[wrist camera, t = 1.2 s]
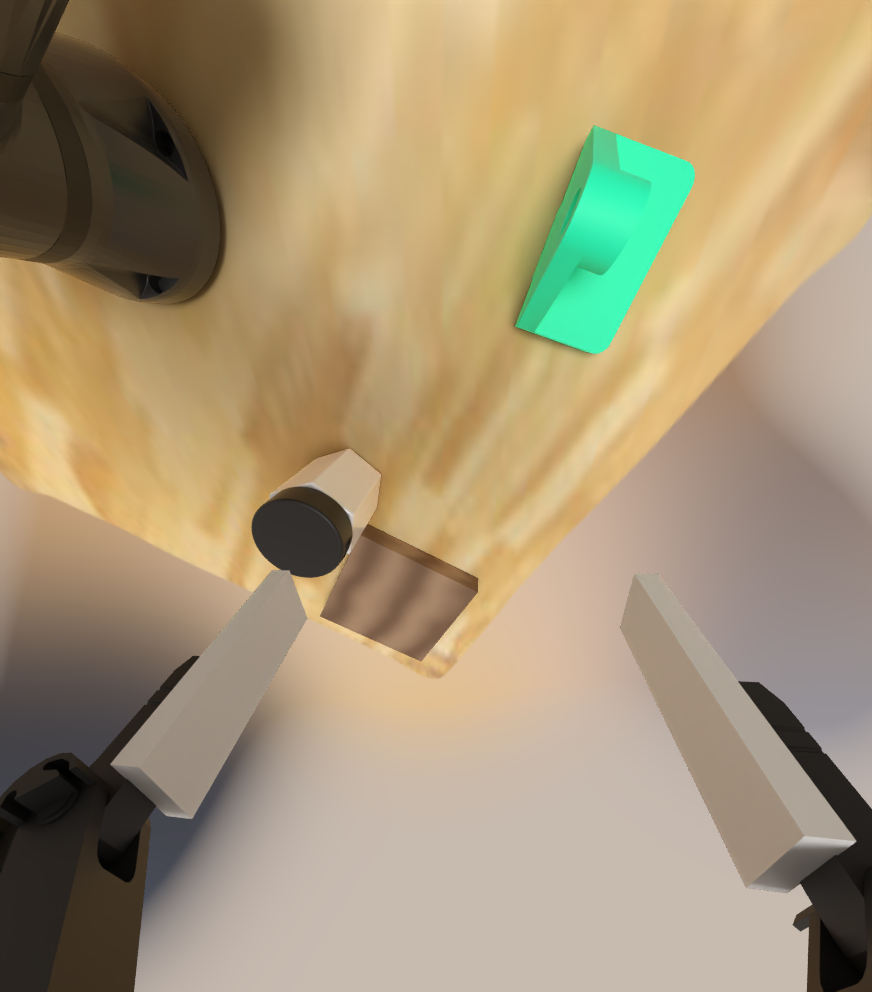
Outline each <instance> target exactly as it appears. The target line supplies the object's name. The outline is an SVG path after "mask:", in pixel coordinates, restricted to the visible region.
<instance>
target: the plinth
mask: <svg viewBox="0 0 872 992" xmlns="http://www.w3.org/2000/svg"><path fill="white" fill-rule="evenodd" d="M477 593H478V578H476V577H474V576H472V575H470V574H468V573H466V572H464V571H462V570H460V569H458V568H456V567H454V566H451V565H449V564H447V563H445V562H443V561H441V560H439V559H437V558H435V557H433V556H431V555H429V554H427V553H425V552H423V551H421V550H419V549H417V548H415V547H413V546H411V545H409V544H407V543H405V542H403V541H401V540H399V539H397V538H395V537H393V536H391V535H388V534H386V533H384V532H382V531H380V530H378V529H376V528H374V527H372V526H370V525H368V524H367V525H366V527H365V529H364V530H363V532H362V534H361V536H360V537H359V539H358V541H357V542H356V544H355V546H354V548H353V550H352V552H351V554H350V556H349V558H348V560H347V562H346V564H345V566H344V568H343V570H342V572H341V574H340V576H339V578H338V580H337V582H336V584H335V586H334V588H333V590H332V592H331V594H330V596H329V599H328V601H327V603H326V605H325V607H324V609H323V611H322V613H321V615H320V617H323V618H325V619H327V620H329V621H332V622H334V623H336V624H338V625H341V626H343V627H345V628H347V629H350V630H352V631H354V632H356V633H359V634H361V635H363V636H365V637H368V638H370V639H372V640H374V641H376V642H379V643H381V644H383V645H385V646H388V647H390V648H392V649H394V650H397V651H399V652H401V653H403V654H406V655H408V656H410V657H412V658H415V659H417V660H419V661H422V660H423V659H424V657H425V656H426V655H427V654H428V653H429V651H430V650H431V649H432V648H433V646H434V645H435V644H436V643H437V642H438V640H439V639H440V638H441V637H442V635H443V634H444V633H445V632H446V631H447V629H448V628H449V627H450V626H451V624H452V623H453V622H454V621H455V620H456V618H457V617H458V616H459V615H460V613H461V612H462V611H463V610H464V609H465V607H466V606H467V605H468V604H469V602H470V601H471V600H472V599H473V597H474V596H475V595H476V594H477Z"/></svg>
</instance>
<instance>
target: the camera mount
mask: <svg viewBox="0 0 872 992" xmlns="http://www.w3.org/2000/svg"><path fill="white" fill-rule="evenodd" d="M694 178H695V172H694V168H693V166H692V165H691V164H690V163H689V162H687V161H685V160H682V159H680V158H677V157H674V156H672V155H669V154H667V153H664V152H662V151H659V150H656V149H654V148H651V147H649V146H646V145H644V144H641V143H638V142H636V141H633V140H631V139H628V138H626V137H623V136H620V135H618V134H615V133H613V132H610V131H608V130H605V129H602V128H600V127H597V126H595V125H594V126H593V128H592V129H591V131H590V133H589V135H588V137H587V139H586V141H585V144H584V146H583V149H582V152H581V154H580V157H579V160H578V162H577V165H576V167H575V170H574V173H573V175H572V178H571V181H570V183H569V186H568V188H567V191H566V194H565V196H564V199H563V202H562V204H561V206H560V208H559V209H558V212H557V214H556V217H555V220H554V222H553V225H552V227H551V230H550V233H549V235H548V238H547V241H546V243H545V246H544V249H543V251H542V254H541V256H540V259H539V262H538V264H537V267H536V270H535V272H534V275H533V277H532V283H531V285H530V288H529V291H528V293H527V296H526V299H525V301H524V304H523V306H522V309H521V312H520V314H519V317H518V320H517V322H516V325H515V327H517V328H520V329H523V330H526V331H528V332H531V333H534V334H537V335H540V336H542V337H545V338H548V339H551V340H554V341H556V342H559V343H562V344H565V345H567V346H570V347H573V348H576V349H579V350H581V351H584V352H588V353H594V354H596V353H600V352H603V351H604V350H606V349H607V348H608V346H609V345H610V343H611V341H612V340H613V338H614V336H615V334H616V332H617V330H618V328H619V326H620V324H621V322H622V320H623V318H624V317H625V315H626V313H627V311H628V309H629V307H630V305H631V303H632V301H633V299H634V297H635V295H636V294H637V292H638V290H639V288H640V286H641V284H642V282H643V280H644V278H645V276H646V274H647V272H648V270H649V269H650V267H651V265H652V263H653V261H654V259H655V257H656V255H657V253H658V251H659V249H660V247H661V246H662V244H663V242H664V240H665V238H666V236H667V234H668V232H669V230H670V228H671V226H672V224H673V223H674V221H675V219H676V217H677V215H678V213H679V211H680V209H681V207H682V205H683V203H684V201H685V199H686V198H687V196H688V194H689V192H690V190H691V188H692V186H693V183H694ZM589 271H590V272H589ZM591 272H592V273H591Z"/></svg>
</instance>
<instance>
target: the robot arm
mask: <svg viewBox="0 0 872 992" xmlns="http://www.w3.org/2000/svg"><path fill="white" fill-rule="evenodd" d="M68 1H69V0H0V257H5V258H13V259H20V260H26V261H32V262H39V263H44V264H46V265H48V266H51V267H53V268H55V269H57V270H60V271H62V272H64V273H66V274H69V275H71V276H73V277H76V278H78V279H80V280H82V281H85V282H87V283H89V284H92V285H94V286H96V287H98V288H101V289H103V290H105V291H108V292H110V293H112V294H115V295H117V296H120V297H123V298H126V299H130V300H134V301H140V302H149V303H160V304H171V303H178V302H181V301H184V300H186V299H189V298H190V297H192V296H194V295H195V294H196V293H198V292H199V291H200V290H201V289H202V288H203V286H204V285H205V284H206V282H207V281H208V279H209V278H210V276H211V274H212V272H213V269H214V267H215V264H216V260H217V256H218V251H219V244H220V218H219V210H218V203H217V198H216V194H215V190H214V186H213V183H212V179H211V176H210V173H209V171H208V168H207V165H206V163H205V160H204V158H203V156H202V154H201V152H200V150H199V148H198V146H197V144H196V142H195V140H194V138H193V137H192V135H191V133H190V131H189V130H188V128H187V127H186V125H185V124H184V122H183V121H182V119H181V118H180V117H179V115H178V114H177V113H176V111H175V110H174V109H173V108H172V106H171V105H170V104H169V103H168V102H167V101H166V100H165V99H164V98H163V97H162V96H161V95H160V94H159V93H158V92H157V91H156V90H155V89H154V88H153V87H152V86H151V85H150V84H148V83H147V82H146V81H144V80H143V79H142V78H140V77H139V76H138V75H137V74H135V73H134V72H133V71H131V70H130V69H129V68H127V67H126V66H125V65H123V64H122V63H121V62H119V61H118V60H117V59H115V58H114V57H112V56H111V55H109V54H107V53H106V52H104V51H102V50H100V49H98V48H97V47H95V46H93V45H90V44H88V43H86V42H84V41H81V40H78V39H75V38H72V37H69V36H65V35H62V34H59V33H56V32H55V30H56V28H57V26H58V24H59V21H60V19H61V17H62V15H63V13H64V10H65V8H66V6H67V4H68ZM306 620H307V616H306V613H305V611H304V608H303V605H302V603H301V600H300V597H299V595H298V592H297V589H296V587H295V584H294V581H293V579H292V576H291V573H290V571H289V570H272V571H271V572H270V573H269V575H268V576H267V577H266V578H265V579H264V581H263V582H262V583H261V584H260V585H259V587H258V588H257V589H256V590H255V591H254V593H253V594H252V595H251V596H250V597H249V599H248V600H247V601H246V602H245V603H244V605H243V606H242V607H241V608H240V609H239V611H238V612H237V613H236V614H235V615H234V617H233V618H232V619H231V620H230V621H229V622H228V624H227V625H226V626H225V627H224V628H223V630H222V631H221V632H220V633H219V635H218V636H217V637H216V638H215V639H214V641H213V642H212V643H211V644H210V645H209V647H208V648H207V649H206V650H205V651H204V652H203V654H202V655H201V656H192V657H191V658H190V659H189V660H187V661H186V662H185V663H183V664H182V665H181V666H180V667H178V668H177V669H176V670H175V671H174V672H173V673H172V674H171V675H170V676H169V678H168V679H167V680H166V681H165V682H164V683H163V684H162V686H161V687H160V690H159V691H156V692H155V694H154V695H153V696H152V697H151V698H150V699H149V700H148V703H147V705H144V706H143V707H142V708H141V710H140V711H139V712H138V713H137V714H136V716H134V718H133V719H132V720H131V721H130V722H129V723H128V724H127V726H126V727H125V728H124V729H123V730H122V731H121V732H120V734H119V735H118V736H117V737H116V738H115V739H114V740H113V742H112V743H111V744H110V745H109V746H108V747H107V748H106V750H105V751H104V752H103V753H102V754H101V755H100V756H99V758H98V759H97V760H96V761H95V762H94V763H93V764H92V765H91V766H90V767H88V766H86V765H85V764H84V763H83V762H81V760H79V759H78V758H77V757H76V756H75V755H73V754H72V753H61V754H58V755H55V756H52V757H50V758H47V759H45V760H44V761H42V762H41V763H39V764H37V765H36V766H34V767H32V768H31V769H29V770H28V771H27V772H26V773H25V774H23V775H22V776H21V777H20V778H18V779H17V780H16V781H15V782H14V783H13V784H12V785H11V786H10V787H9V788H8V789H7V790H6V791H5V792H4V793H3V795H2V796H1V797H0V992H134V986H135V976H136V966H137V956H138V947H139V936H140V928H141V918H142V908H143V898H144V889H145V879H146V869H147V860H148V849H149V841H150V831H151V826H150V820H149V819H148V817H149V816H150V814H151V813H152V811H153V810H154V808H155V807H157V808H159V809H160V810H161V811H162V812H163V813H164V814H165V815H166V816H172V817H180V818H188V819H192V818H193V816H194V814H195V813H196V811H197V809H198V808H199V806H200V804H201V802H202V801H203V799H204V797H205V795H206V793H207V792H208V790H209V788H210V786H211V785H212V783H213V781H214V780H215V778H216V776H217V775H218V773H219V771H220V769H221V767H222V766H223V764H224V762H225V761H226V759H227V757H228V755H229V754H230V752H231V750H232V748H233V747H234V745H235V743H236V741H237V740H238V738H239V736H240V735H241V733H242V731H243V729H244V728H245V726H246V724H247V722H248V720H249V719H250V717H251V715H252V714H253V712H254V710H255V708H256V707H257V705H258V703H259V701H260V700H261V698H262V696H263V695H264V693H265V691H266V689H267V688H268V686H269V684H270V682H271V681H272V679H273V677H274V675H275V674H276V672H277V670H278V668H279V667H280V665H281V663H282V662H283V660H284V658H285V656H286V655H287V653H288V651H289V649H290V648H291V646H292V644H293V642H294V641H295V639H296V637H297V635H298V634H299V632H300V630H301V628H302V627H303V625H304V623H305V621H306ZM620 629H621V631H622V633H623V635H624V637H625V639H626V641H627V643H628V645H629V647H630V649H631V651H632V653H633V655H634V657H635V659H636V661H637V664H638V666H639V668H640V670H641V672H642V674H643V676H644V678H645V680H646V682H647V684H648V686H649V688H650V690H651V692H652V695H653V697H654V699H655V701H656V703H657V705H658V707H659V709H660V711H661V713H662V715H663V717H664V719H665V722H666V724H667V726H668V728H669V730H670V732H671V734H672V736H673V738H674V740H675V742H676V744H677V746H678V748H679V750H680V753H681V755H682V757H683V759H684V761H685V763H686V764H687V767H688V769H689V771H690V773H691V775H692V777H693V779H694V781H695V783H696V786H697V788H698V790H699V792H700V794H701V796H702V798H703V800H704V802H705V804H706V806H707V808H708V810H709V812H710V814H711V817H712V819H713V821H714V823H715V825H716V827H717V829H718V831H719V833H720V835H721V837H722V839H723V841H724V843H725V845H726V848H727V850H728V852H729V854H730V856H731V858H732V860H733V862H734V864H735V866H736V868H737V870H738V872H739V874H740V876H741V878H742V881H743V883H744V885H745V887H746V888H750V889H758V890H766V891H774V892H782V893H788V892H790V891H791V890H792V889H794V888H795V887H796V886H798V885H799V884H801V885H802V887H803V889H804V890H805V892H806V894H807V896H808V897H809V899H810V901H811V902H812V905H811V906H810V907H808V908H806V909H805V910H803V911H802V912H800V913H799V914H797V915H796V918H795V920H794V923H793V926H795V927H796V928H797V929H798V930H800V931H802V930H804V929H805V928H807V927H809V946H808V975H807V992H872V809H871V808H870V807H869V805H868V804H867V803H866V802H865V800H864V799H863V798H862V797H861V795H860V794H859V793H858V792H857V791H856V789H855V788H854V787H853V786H852V785H851V783H850V782H849V781H848V780H847V779H846V777H845V776H844V775H843V774H842V772H841V771H840V770H839V769H838V768H837V767H836V765H835V764H834V763H833V762H832V760H831V759H830V758H829V757H828V756H827V754H824V753H823V752H822V750H821V747H820V746H819V745H818V743H817V742H816V741H815V740H814V739H813V737H812V736H811V735H810V734H809V733H808V732H806V731H805V730H804V727H803V725H802V724H801V723H800V722H799V720H798V719H797V718H796V717H795V715H794V714H793V713H792V712H791V711H790V709H789V708H788V707H787V706H786V705H785V703H784V702H782V701H781V700H780V699H778V698H777V697H776V696H775V695H774V694H772V693H771V692H770V691H768V689H766V688H765V687H764V686H763V685H761V684H760V683H759V682H740V681H737V680H736V678H735V677H734V676H733V674H732V673H731V672H730V670H729V669H728V668H727V666H726V665H725V663H724V662H723V661H722V659H721V658H720V657H719V655H718V654H717V653H716V652H715V650H714V649H713V647H712V646H711V645H710V643H709V642H708V641H707V639H706V638H705V637H704V635H703V634H702V633H701V631H700V630H699V629H698V627H697V626H696V625H695V623H694V622H693V621H692V619H691V618H690V616H689V615H688V614H687V612H686V611H685V610H684V608H683V607H682V606H681V604H680V603H679V602H678V600H677V599H676V598H675V596H674V595H673V594H672V592H671V591H670V590H669V588H668V587H667V585H666V584H665V583H664V581H663V580H662V579H661V577H660V576H659V575H658V574H650V573H646V574H645V573H634V576H633V580H632V584H631V588H630V591H629V596H628V599H627V603H626V607H625V610H624V615H623V618H622V622H621V626H620Z"/></svg>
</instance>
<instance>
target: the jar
mask: <svg viewBox="0 0 872 992" xmlns="http://www.w3.org/2000/svg"><path fill="white" fill-rule="evenodd" d="M380 481H381V474H380V473H379V472H378V471H377V470H375V469H374V468H373V467H372V466H371V465H369V464H368V463H367V462H366V461H365V460H363V459H362V458H361V457H360V456H359V455H357V454H356V453H355V452H354V451H353V450H351V449H345V450H342V451H339V452H336V453H332V454H329V455H326V456H322V457H319V458H316V459H314V460H313V461H312V462H311V463H309V464H308V465H307V466H305V467H304V468H303V469H301V470H300V471H299V472H298V473H296V474H295V475H294V476H292V477H291V478H290V479H289V480H287V481H286V482H285V483H283V484H282V485H281V486H279V487H278V488H277V489H276V490H274V491H273V492H272V493H270V500H268V501H267V502H266V503H265V504H263V505H262V506H261V507H260V508H259V509H258V510H257V512H256V513H255V515H254V517H253V520H252V535H253V539H254V541H255V544H256V546H257V547H258V549H259V551H260V552H261V553H262V555H263V556H264V557H265V558H266V559H267V560H268V561H269V562H270V563H272V564H273V565H274V566H276V567H277V568H279V569H281V570H289V571H290V573H291V574H292V575H295V576H299V577H307V578H312V577H319V576H323V575H326V574H328V573H330V572H331V571H333V570H334V569H335V568H336V567H337V566H338V565H339V563H340V562H341V561H342V559H343V558H344V557H345V555H346V554H350V553H351V551H352V549H353V548H354V546H355V544H356V542H357V541H358V539H359V537H360V536H361V534H362V532H363V530H364V529H365V527H366V525H367V523H368V522H369V520H370V518H371V517H372V515H373V513H374V511H375V510H376V508H377V503H378V496H379V488H380Z"/></svg>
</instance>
